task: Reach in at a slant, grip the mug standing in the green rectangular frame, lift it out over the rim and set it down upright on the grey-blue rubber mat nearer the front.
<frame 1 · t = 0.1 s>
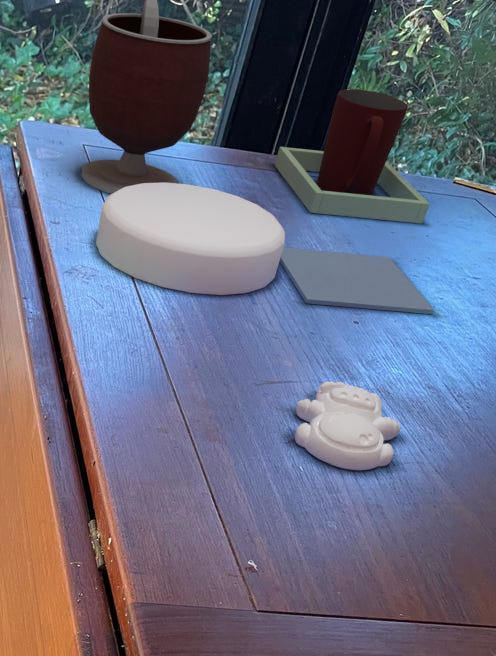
mat: (349, 281, 109), on the table
mug: (344, 195, 133), resting in green rectangular frame
container: (185, 257, 110), on the table
astronaut figurine: (343, 434, 84), on the table
green rectangular frame: (345, 193, 132), on the table
mate gourd: (127, 180, 127), on the table
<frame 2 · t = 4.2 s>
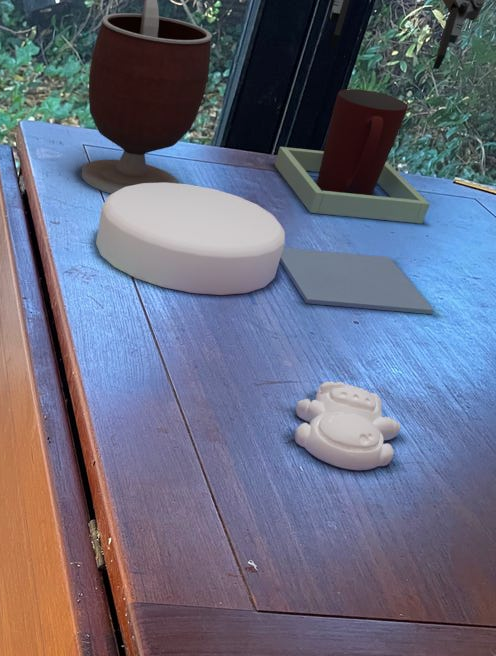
hand: (386, 52, 130), 15 cm above the table, tool tilted 45°, fingers open, 13 cm apart
nothing on the table moved.
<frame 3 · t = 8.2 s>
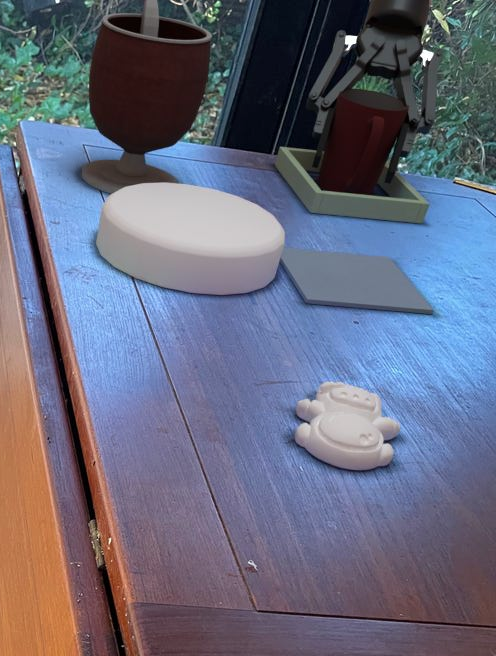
hand: (353, 169, 128), 4 cm above the table, tool tilted 45°, fingers closed on mug, 9 cm apart
mug: (344, 194, 133), resting in green rectangular frame, touching gripper
everything else where it was.
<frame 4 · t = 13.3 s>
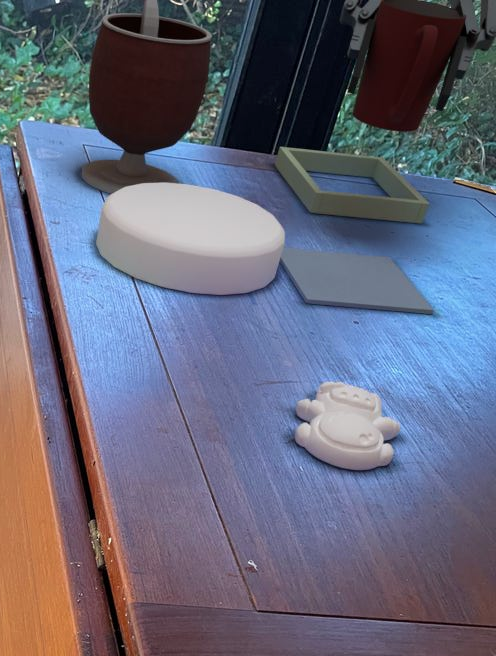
hand: (397, 93, 105), 17 cm above the table, tool tilted 45°, fingers closed on mug, 9 cm apart
mug: (386, 127, 110), point 13 cm above the table, touching gripper
everything else where it was.
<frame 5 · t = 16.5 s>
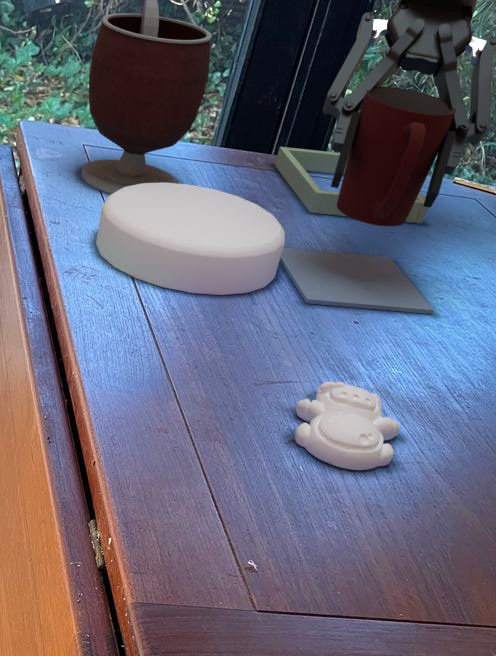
hand: (383, 190, 100), 11 cm above the table, tool tilted 45°, fingers closed on mug, 9 cm apart
mug: (371, 220, 105), point 7 cm above the table, touching gripper
everything else where it was.
when the fingers open (4 cm above the table, at t = 18.6 s): mug stays where it is, resting on mat.
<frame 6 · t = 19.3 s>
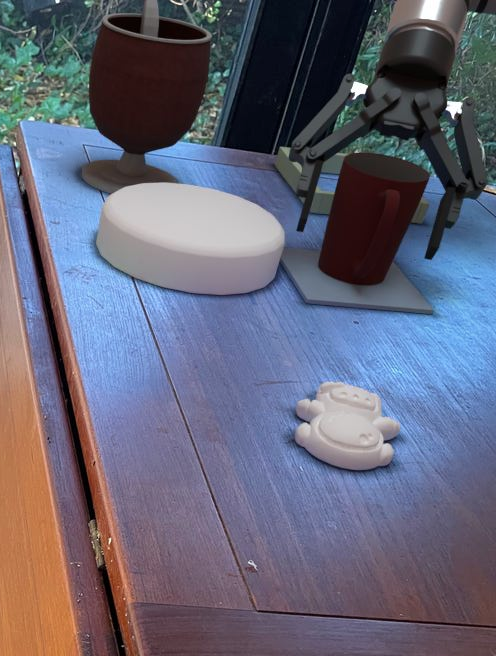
hand: (365, 239, 104), 5 cm above the table, tool tilted 45°, fingers open, 13 cm apart
mug: (351, 278, 109), resting on mat
everything else where it was.
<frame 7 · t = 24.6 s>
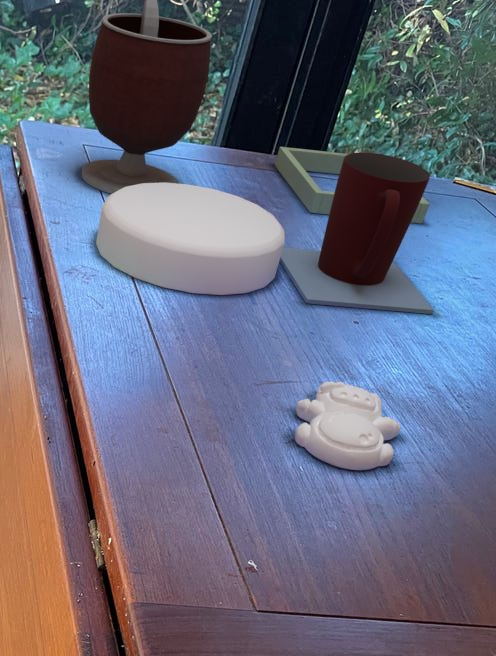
nothing on the table moved.
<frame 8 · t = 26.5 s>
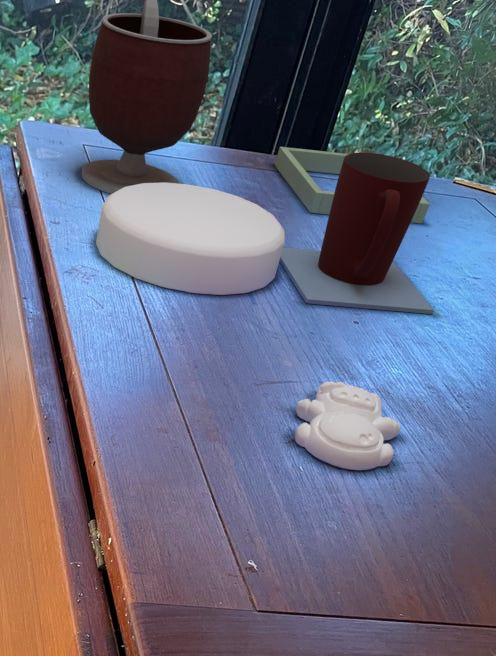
nothing on the table moved.
at the end: mug inside the target area on the mat (0.2 cm from its centre), point 0.3 cm above the mat's base; mug tilted 0°; mug touching mat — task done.
